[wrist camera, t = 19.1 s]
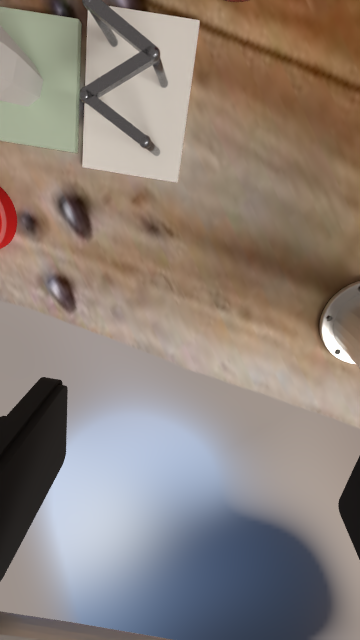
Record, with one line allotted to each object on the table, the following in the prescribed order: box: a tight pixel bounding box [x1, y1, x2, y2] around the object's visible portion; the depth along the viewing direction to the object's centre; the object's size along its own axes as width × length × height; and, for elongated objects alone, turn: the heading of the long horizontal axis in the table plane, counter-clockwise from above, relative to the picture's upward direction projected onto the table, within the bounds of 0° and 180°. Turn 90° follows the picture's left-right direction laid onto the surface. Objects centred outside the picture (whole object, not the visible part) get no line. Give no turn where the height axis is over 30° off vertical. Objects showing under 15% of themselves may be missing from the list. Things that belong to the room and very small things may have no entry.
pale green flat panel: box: [0, 7, 82, 153], centre depth 38 cm, size 13×13×1 cm
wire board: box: [82, 6, 200, 183], centre depth 38 cm, size 12×16×1 cm
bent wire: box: [79, 0, 168, 156], centre depth 33 cm, size 7×11×9 cm, turn 171°
